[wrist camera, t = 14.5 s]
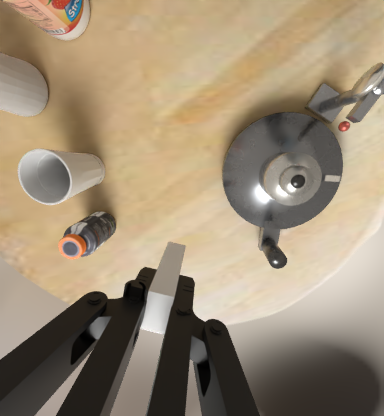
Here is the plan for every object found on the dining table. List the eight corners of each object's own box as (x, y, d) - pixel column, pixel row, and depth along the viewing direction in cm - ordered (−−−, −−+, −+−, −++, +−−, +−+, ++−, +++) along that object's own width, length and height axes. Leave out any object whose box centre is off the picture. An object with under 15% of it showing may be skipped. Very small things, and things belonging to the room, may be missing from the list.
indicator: (320, 84, 35) (389, 45, 22) (344, 101, 36) (426, 72, 22) (290, 128, 37) (336, 117, 24) (313, 143, 38) (371, 140, 24)
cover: (263, 149, 36) (275, 150, 29) (311, 154, 35) (334, 155, 29) (255, 196, 38) (264, 205, 32) (300, 200, 38) (319, 211, 31)
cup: (106, 147, 40) (65, 147, 29) (112, 189, 43) (76, 204, 31) (66, 149, 41) (11, 150, 29) (73, 190, 43) (25, 205, 32)
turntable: (228, 110, 36) (233, 101, 29) (349, 117, 35) (385, 109, 28) (215, 244, 43) (216, 263, 36) (316, 253, 42) (338, 273, 35)
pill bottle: (92, 206, 44) (54, 225, 33) (119, 216, 44) (90, 238, 33) (86, 232, 45) (49, 258, 35) (113, 241, 46) (84, 269, 35)
